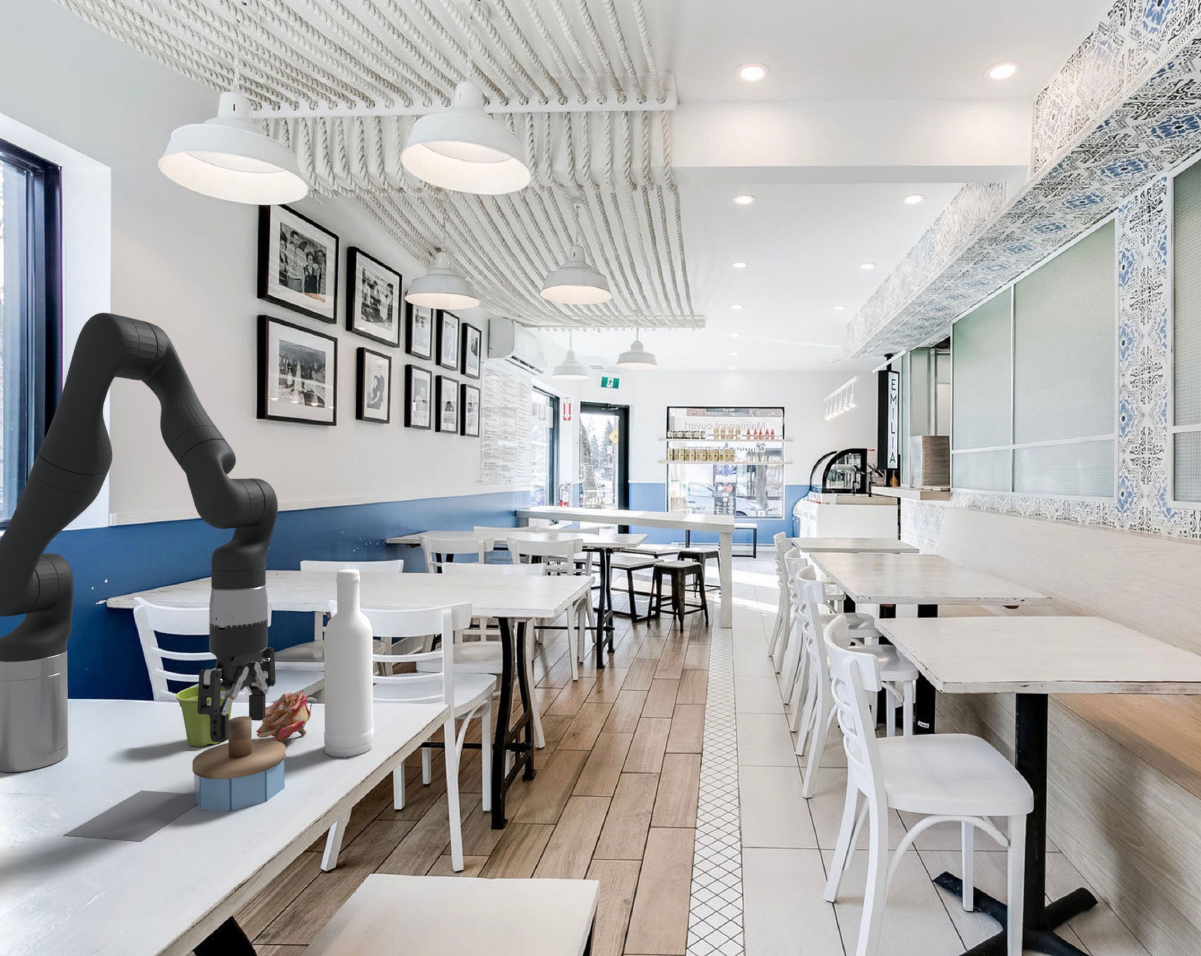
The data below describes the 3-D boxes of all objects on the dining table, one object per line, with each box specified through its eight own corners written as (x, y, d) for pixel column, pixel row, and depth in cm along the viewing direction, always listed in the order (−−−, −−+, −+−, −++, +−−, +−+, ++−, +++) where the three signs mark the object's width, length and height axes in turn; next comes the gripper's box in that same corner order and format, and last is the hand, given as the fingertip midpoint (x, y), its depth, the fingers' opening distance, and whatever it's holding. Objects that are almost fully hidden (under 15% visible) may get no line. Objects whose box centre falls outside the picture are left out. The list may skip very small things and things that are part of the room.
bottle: (339, 761, 117) (338, 575, 117) (315, 749, 122) (313, 571, 122) (383, 747, 123) (382, 570, 123) (358, 736, 128) (357, 566, 128)
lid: (172, 776, 100) (171, 732, 100) (228, 743, 112) (228, 704, 112) (253, 781, 98) (253, 737, 98) (301, 747, 110) (301, 708, 110)
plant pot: (212, 753, 121) (211, 701, 121) (163, 748, 123) (162, 697, 123) (249, 733, 130) (249, 684, 130) (203, 729, 132) (203, 681, 132)
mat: (63, 839, 93) (63, 835, 93) (141, 794, 105) (141, 790, 105) (141, 845, 91) (141, 841, 91) (211, 799, 104) (210, 794, 104)
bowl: (178, 811, 100) (178, 775, 100) (229, 777, 111) (229, 745, 111) (252, 816, 99) (252, 779, 99) (297, 781, 110) (296, 748, 110)
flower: (309, 714, 135) (281, 684, 132) (335, 715, 129) (307, 683, 126) (269, 758, 128) (239, 727, 125) (296, 761, 122) (265, 728, 119)
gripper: (245, 607, 112) (245, 712, 112) (179, 627, 98) (180, 747, 98) (291, 609, 111) (291, 715, 111) (231, 629, 97) (231, 750, 97)
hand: (239, 730), depth 105 cm, fingers open, 8 cm apart
